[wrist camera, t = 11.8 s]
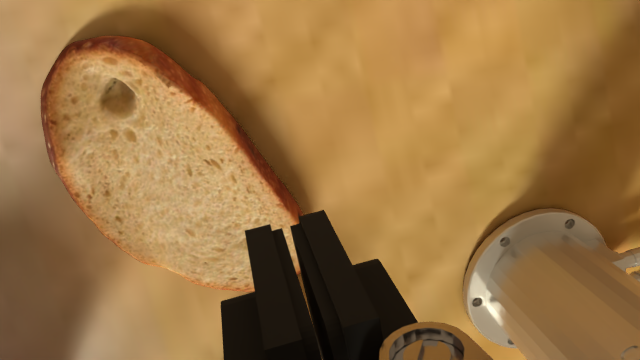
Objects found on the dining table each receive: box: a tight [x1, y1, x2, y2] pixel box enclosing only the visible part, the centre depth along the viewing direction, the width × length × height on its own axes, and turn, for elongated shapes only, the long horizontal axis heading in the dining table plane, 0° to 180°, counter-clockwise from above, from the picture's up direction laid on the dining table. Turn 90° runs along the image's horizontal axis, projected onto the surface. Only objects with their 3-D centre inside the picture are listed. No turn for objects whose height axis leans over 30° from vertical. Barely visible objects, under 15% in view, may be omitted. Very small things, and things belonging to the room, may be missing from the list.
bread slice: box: [41, 36, 303, 292], centre depth 37 cm, size 18×18×4 cm
